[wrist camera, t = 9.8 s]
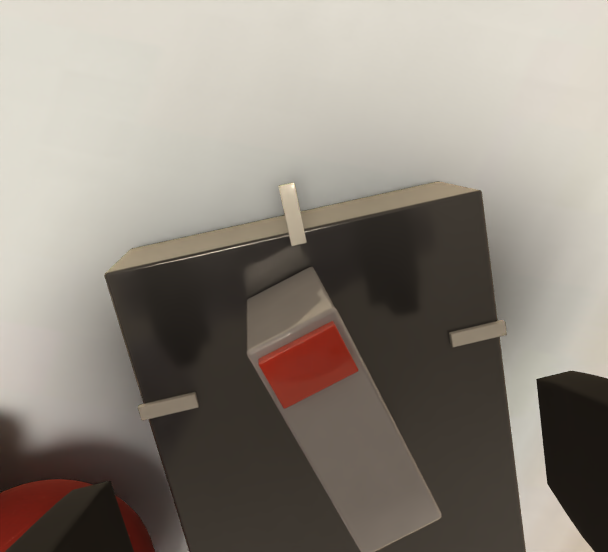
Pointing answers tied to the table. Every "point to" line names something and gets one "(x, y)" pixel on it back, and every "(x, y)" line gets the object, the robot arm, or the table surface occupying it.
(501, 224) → the table surface
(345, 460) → the grey box-shaped piece
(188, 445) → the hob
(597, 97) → the table surface
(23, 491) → the kendama
